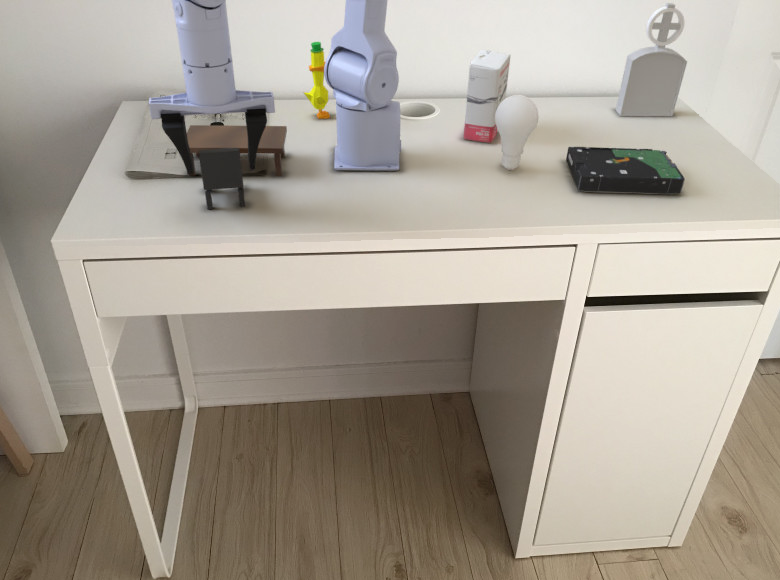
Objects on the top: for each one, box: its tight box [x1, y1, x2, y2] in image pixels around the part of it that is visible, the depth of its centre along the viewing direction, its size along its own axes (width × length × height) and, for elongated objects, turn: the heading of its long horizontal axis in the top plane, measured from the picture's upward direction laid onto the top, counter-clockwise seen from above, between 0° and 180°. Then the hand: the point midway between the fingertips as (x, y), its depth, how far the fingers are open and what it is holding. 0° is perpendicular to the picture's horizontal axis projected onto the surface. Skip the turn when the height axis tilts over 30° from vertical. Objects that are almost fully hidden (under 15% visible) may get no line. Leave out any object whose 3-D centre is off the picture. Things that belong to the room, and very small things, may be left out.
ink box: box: [463, 49, 511, 144], centre depth 114 cm, size 9×5×12 cm, turn 161°
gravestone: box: [615, 2, 688, 117], centre depth 121 cm, size 3×9×18 cm, turn 94°
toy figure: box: [303, 41, 331, 120], centre depth 117 cm, size 7×4×12 cm, turn 105°
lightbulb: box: [495, 94, 539, 171], centre depth 104 cm, size 6×6×11 cm
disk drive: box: [565, 146, 686, 195], centre depth 105 cm, size 10×3×15 cm
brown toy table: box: [186, 124, 288, 177], centre depth 104 cm, size 14×8×4 cm, turn 93°
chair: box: [198, 148, 246, 210], centre depth 95 cm, size 5×6×8 cm
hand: (221, 168), depth 92 cm, fingers open, 7 cm apart
